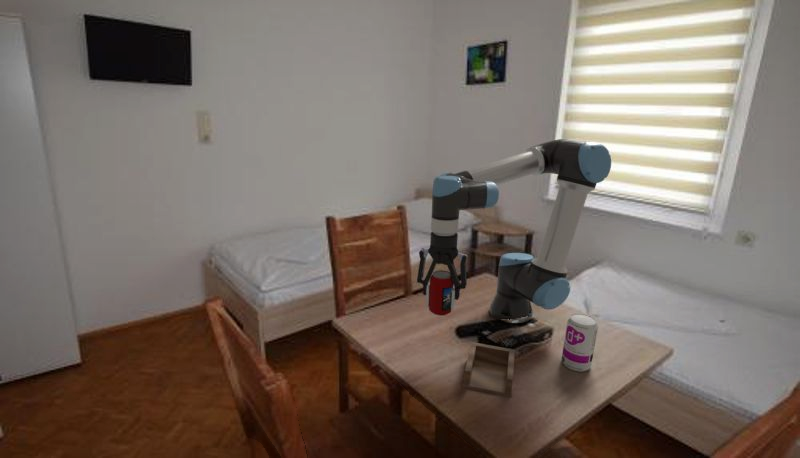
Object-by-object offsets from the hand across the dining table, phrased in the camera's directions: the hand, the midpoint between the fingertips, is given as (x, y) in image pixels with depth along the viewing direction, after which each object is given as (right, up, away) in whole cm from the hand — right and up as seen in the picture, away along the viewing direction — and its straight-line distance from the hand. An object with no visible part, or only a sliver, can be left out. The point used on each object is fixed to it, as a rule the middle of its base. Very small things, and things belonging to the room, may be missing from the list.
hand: (440, 306), depth 126 cm
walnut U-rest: (+13, -19, -5) cm, 23 cm away
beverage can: (0, -2, 0) cm, 2 cm away
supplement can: (+41, -18, +2) cm, 44 cm away
